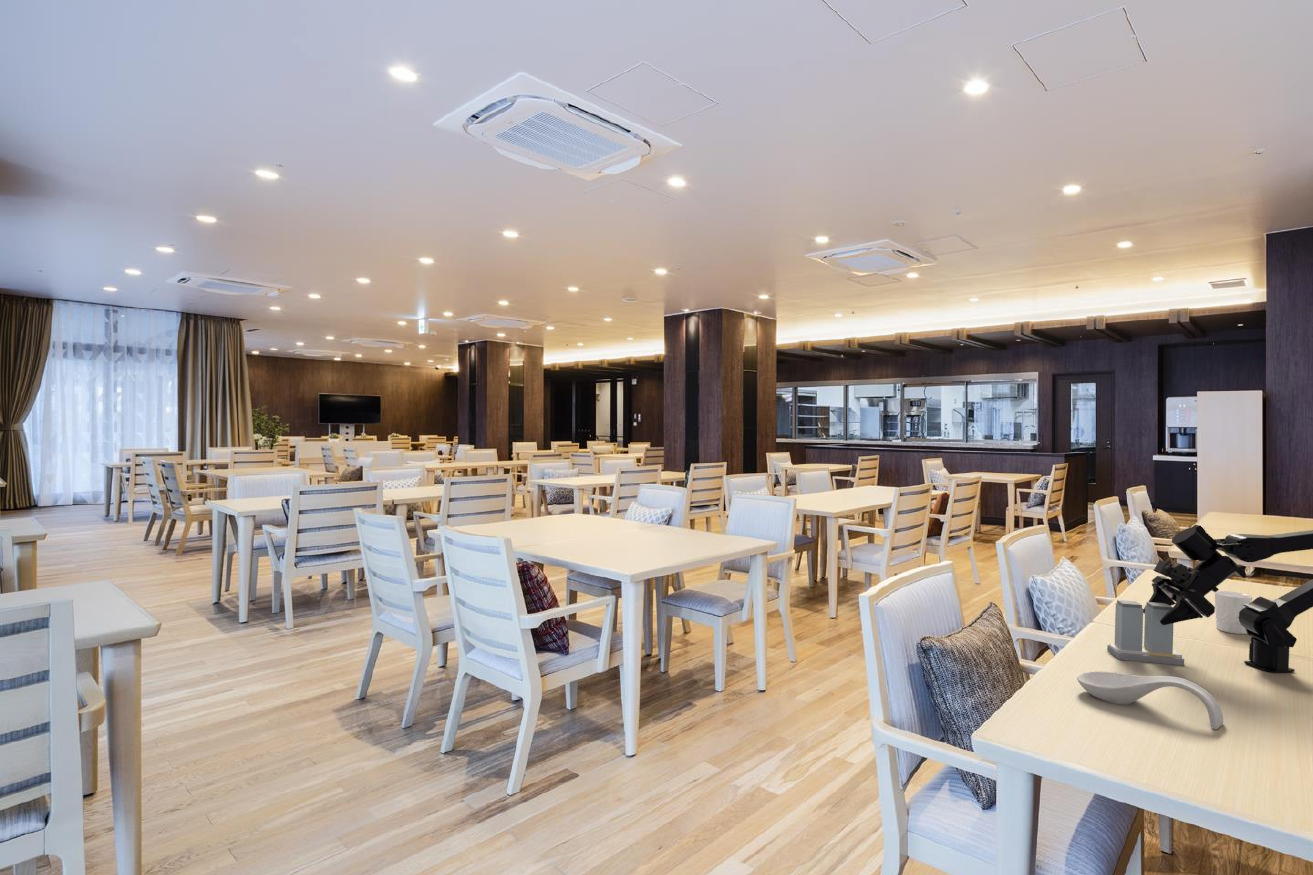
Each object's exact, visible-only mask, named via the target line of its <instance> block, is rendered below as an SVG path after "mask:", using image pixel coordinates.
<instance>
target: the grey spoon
mask: <svg viewBox="0 0 1313 875" xmlns="http://www.w3.org/2000/svg"><path fill="white" fill-rule="evenodd" d="M1076 679H1077V680H1076V681H1077V682H1078V683H1079V685H1080V686H1081V687H1082V688H1083V689H1084V690H1085V691H1086V692H1087V693H1089V694H1090V695H1091V696H1093V697H1095V698H1097V699H1099V700H1101V701H1104V702H1107V703H1111V704H1114V705H1115V704H1116V705H1131V704H1132V703H1133V702H1136V701H1138V700H1140V699H1141V698H1143V697H1145V696H1147V695H1149V694H1151V693H1153V692H1154V691H1157V690H1159V689H1162V688H1167V687H1169V688H1170V687H1171V688H1172V687H1174V688H1179V689H1183V690H1184V691H1187V692H1189V693H1190V694H1191V695H1194V696H1195V697H1196V698H1198V699H1199V700H1200V702H1202V704H1203V705H1204V706H1205V708H1206V710H1207V713H1208V718H1209V726H1210V728H1211V729H1212V730H1218V729H1219V728H1220V727H1221V726H1222V725H1223V724H1224V716H1223V711H1222V708H1221V706H1220V704H1219V703H1218V701H1217V700H1216V699H1215V697H1214V696H1213V695H1212V694H1211V693H1209V691H1207V690H1206V689H1205V688H1203V687H1202V686H1200V685H1198V684H1196V683H1195V682H1192V681H1190V680H1188V679H1185V678H1182V677H1178V676H1171V675H1170V676H1168V675H1165V676H1164V675H1161V676H1160V675H1159V676H1158V675H1157V676H1156V675H1155V676H1154V675H1152V676H1149V675H1148V676H1145V675H1132V674H1127V673H1120V672H1119V673H1118V672H1109V671H1089V672H1087V671H1086V672H1083V673H1080V674H1079V675H1077V677H1076Z"/></svg>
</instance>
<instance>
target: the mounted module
mask: <svg viewBox="0 0 1313 875" xmlns="http://www.w3.org/2000/svg"><path fill="white" fill-rule="evenodd" d="M1143 609H1144V608H1143V604H1142V603H1139V602H1138V601H1136V600H1135V601H1134V600H1121V599H1117V600H1116V603H1115V611H1114V612H1115V614H1114V616H1115V618H1114V644H1115V645H1116V646H1117V647H1118V648H1120V649H1121V650H1131V651H1142V646H1143V641H1144V636H1143V635H1144V634H1143V633H1144V629H1143V628H1144V613H1143Z"/></svg>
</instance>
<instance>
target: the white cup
mask: <svg viewBox="0 0 1313 875" xmlns="http://www.w3.org/2000/svg"><path fill="white" fill-rule="evenodd" d="M1252 601H1253V596H1252V595H1250V594H1247V593H1242V592H1235V591H1227V590H1224V591H1223V590H1220V591H1219V590H1218V591H1216V592H1214V605H1215V606H1214V607H1215V619H1216V620H1215V626H1216V629H1217V630H1219V631H1221V632H1224V633H1228V634H1229V633H1230V634H1235V635H1236V634H1237V635H1248V634H1247V632H1246V629H1245V628H1244V627H1243V626H1242V625H1241V624H1240V622H1239V612H1240V611H1241V610H1242V609H1243V608H1245V606H1243V605H1244V604H1248V603H1251V602H1252Z"/></svg>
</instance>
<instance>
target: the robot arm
mask: <svg viewBox="0 0 1313 875" xmlns="http://www.w3.org/2000/svg"><path fill="white" fill-rule="evenodd" d="M1171 542H1172V543H1173V545H1175V547H1177V548H1178V549H1179V550H1180V551H1181V552H1182V553H1183V554H1184V555H1185V556H1186V557H1187V558H1188V559H1189V560H1190V561H1194V562H1195V561H1198V562H1199V563H1197V565H1195V566H1194V567H1193V568H1192V567H1190V566H1189V567H1188V566H1186V565H1185V564H1182V563H1180V562H1175V563H1174V564H1172V563H1169V562H1167V561H1165V560H1162V559H1159V560H1158V561H1157V563H1156V565H1155V567H1154V569H1153V571H1154V572H1155V573H1157V574H1160V575H1157V576H1155V577H1154V578H1152V580H1151V581H1150V582H1151V587H1152V591H1153V593H1152V595H1151V597H1150V598H1149V600H1148V602H1154V603H1166V604H1168V605H1170V606H1172V607H1173V608H1172V609H1171V610H1170V611H1169V612H1168V613H1167V614H1166V615H1165V616H1164V617H1163V618H1162V619H1161V620H1160V623H1161V624H1162V625H1167V624H1172V623H1174V624H1176V623H1180V622H1184V621H1189V620H1195V619H1203V618H1204V617H1206V618H1208V619H1209V618H1210V617H1211V616H1212V615H1213V614H1216V611H1215V606H1214V605H1213V604H1212V603H1211V602H1210V601H1209V600H1208V599H1207V598H1206V597H1205V596H1206V595H1208V594H1209V593H1210V592H1214V593H1215V592H1216V591H1219V590H1220V589H1219V588H1218V586H1219V585H1221V584H1222V583H1223V582H1224V581H1225V580H1227V579H1228V578H1230V577H1231V576H1233V575H1235V576H1238V577H1240V578H1243V579H1245V578H1247V573H1246V568H1247V567H1246V566H1245V565H1243V564H1240V563H1239V564H1237V563H1236V561H1234V560H1233V559H1235V560H1238V561H1241V562H1245V563H1255V562H1259V561H1263V560H1266V559H1269V558H1272V557H1273V556H1275V555H1278V554H1281V553H1283V554H1285V553H1291V552H1292V553H1293V552H1299V551H1300V552H1301V551H1309V550H1313V529H1310V530H1301V531H1293V532H1292V531H1291V532H1286V533H1285V532H1284V533H1277V534H1270V535H1269V534H1267V535H1265V534H1252V533H1251V534H1249V533H1231V534H1228V535H1226V536H1225V538H1213V537H1212V536H1211V535H1210V534H1209V533H1208V532H1207V531H1206V529H1205V528H1204V527H1202V526H1201V525H1199V524H1194V525H1193V526H1192V527H1191V526H1190V527H1187V528H1185V529H1182V530H1181V531H1179V532H1177V533H1176V534H1175V535H1174V536H1173V537H1172V539H1171ZM1220 552H1222V553H1224V554H1225V555H1223V554H1221V553H1220ZM1243 606H1245V608H1243V609H1242V610H1241V611H1240V612H1239V622H1240V624H1241V625H1242V626H1243V627H1244V628H1245V629H1246V632H1247V634H1246V635H1248V636H1250V642H1249V644H1248V645H1249V647H1248V648H1249V650H1248V653H1249V654H1248V660H1243V661H1244V662H1243V663H1244V664H1246V665H1248V666H1251V667H1254V668H1257V669H1260V670H1263V671H1266V672H1268V673H1291V672H1292V673H1294V672H1296V671H1295V670H1296V669H1295V668H1293V667H1290V666H1289V665H1290V648H1294V646H1295V644H1296V643H1297V638H1296V636H1294V634H1292V633H1291V632H1290V631H1289V630H1288V629H1289V628H1290V627H1291V625H1292V624H1293V622H1294V620H1295V619H1296V617H1298V616H1299V615H1301V614H1302V613H1303V614H1304V612H1306V611H1308V610H1310V609H1312V608H1313V579H1311V580H1309V581H1307V582H1305V583H1303V584H1301V585H1299V586H1298V587H1296V588H1294V589H1292V590H1290V591H1288V592H1287V593H1285V594H1283V595H1281V596H1279V597H1278V598H1275V599H1269V598H1265V597H1263V596H1258V597H1256V598H1255V599H1254V600H1252V602H1251V603H1248V604H1244V605H1243ZM1143 615H1145V607H1144V608H1143Z"/></svg>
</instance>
